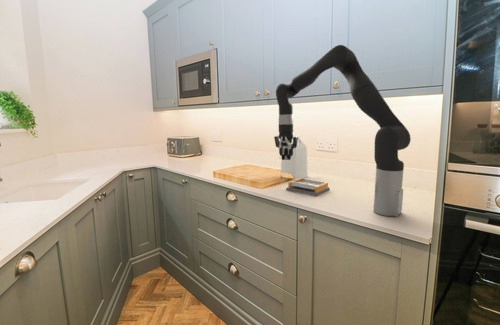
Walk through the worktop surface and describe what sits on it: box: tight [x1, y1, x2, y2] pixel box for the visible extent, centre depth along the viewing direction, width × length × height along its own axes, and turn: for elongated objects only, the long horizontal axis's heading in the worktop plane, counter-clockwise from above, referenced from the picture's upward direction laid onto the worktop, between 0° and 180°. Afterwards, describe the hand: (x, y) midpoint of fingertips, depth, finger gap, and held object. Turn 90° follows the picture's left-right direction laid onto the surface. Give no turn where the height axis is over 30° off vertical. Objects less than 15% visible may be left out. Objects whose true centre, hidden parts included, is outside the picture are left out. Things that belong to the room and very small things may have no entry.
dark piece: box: [278, 141, 291, 160], centre depth 145 cm, size 7×5×10 cm
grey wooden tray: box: [291, 177, 326, 190], centre depth 139 cm, size 13×10×2 cm
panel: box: [285, 178, 331, 197], centre depth 139 cm, size 17×14×4 cm
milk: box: [280, 134, 309, 181], centre depth 167 cm, size 12×12×26 cm
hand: (286, 155), depth 145 cm, fingers closed on dark piece, 5 cm apart
